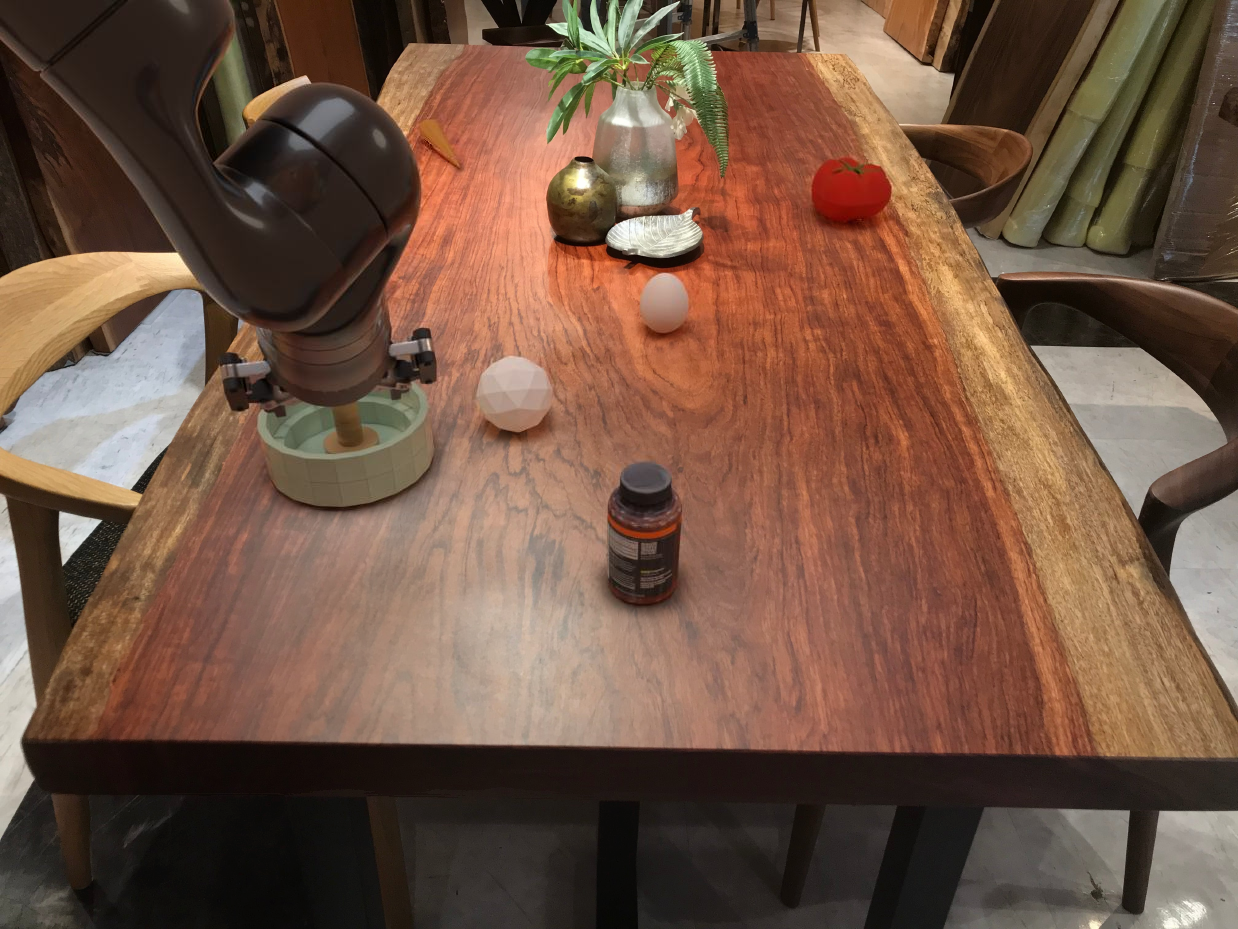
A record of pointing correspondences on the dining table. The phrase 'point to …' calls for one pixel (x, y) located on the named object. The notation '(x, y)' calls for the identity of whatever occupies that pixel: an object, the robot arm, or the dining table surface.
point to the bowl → (351, 474)
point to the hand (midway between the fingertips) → (337, 395)
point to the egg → (664, 303)
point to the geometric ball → (514, 393)
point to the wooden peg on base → (349, 431)
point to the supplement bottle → (643, 534)
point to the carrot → (437, 138)
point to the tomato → (850, 190)
